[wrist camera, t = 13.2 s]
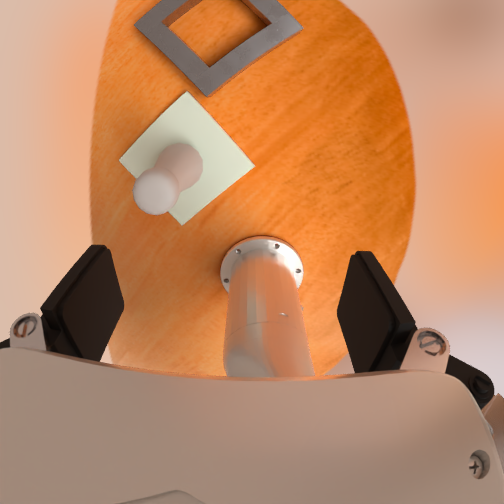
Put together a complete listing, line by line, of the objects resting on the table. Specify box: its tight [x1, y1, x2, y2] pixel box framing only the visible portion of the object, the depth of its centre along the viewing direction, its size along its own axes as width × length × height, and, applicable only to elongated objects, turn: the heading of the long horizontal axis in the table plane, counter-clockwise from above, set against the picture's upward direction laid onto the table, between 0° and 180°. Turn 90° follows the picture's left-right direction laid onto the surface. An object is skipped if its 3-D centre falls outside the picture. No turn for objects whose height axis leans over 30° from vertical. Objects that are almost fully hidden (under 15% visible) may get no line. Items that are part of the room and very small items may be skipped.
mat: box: [119, 91, 255, 226], centre depth 34 cm, size 13×13×1 cm
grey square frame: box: [134, 0, 303, 97], centre depth 24 cm, size 14×14×3 cm
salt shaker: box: [132, 143, 203, 215], centre depth 28 cm, size 6×6×13 cm
